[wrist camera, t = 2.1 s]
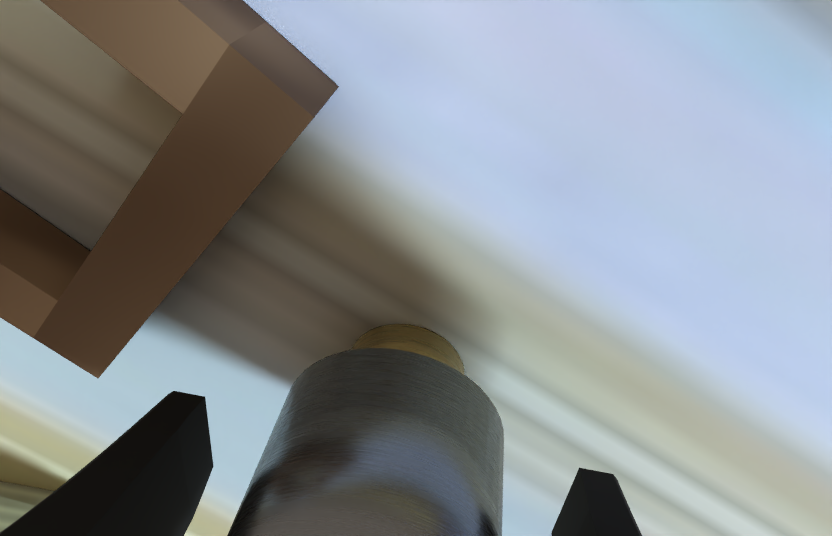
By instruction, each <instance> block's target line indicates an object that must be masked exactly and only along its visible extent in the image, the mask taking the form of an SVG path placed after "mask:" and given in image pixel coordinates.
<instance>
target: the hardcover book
mask: <svg viewBox="0 0 832 536" xmlns="http://www.w3.org/2000/svg"><path fill="white" fill-rule="evenodd" d="M53 492H54V491H51V490H46V489H40V488H35V487H29V486H24V485H18V484H13V483H7V482H2V481H0V532H1V531H3V530H4V529H6V528H7V527H8V526H10V525H11V524H12V523H14V522H15V521H16V520H18V519H19V518H20V517H22V516H23V515H24V514H26V513H27V512H28V511H29V510H31V509H32V508H33V507H35V506H36V505H37V504H39V503H40V502H41V501H43V500H44V499H45V498H46V497H48V496H49V495H50V494H52V493H53Z"/></svg>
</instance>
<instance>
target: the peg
mask: <svg viewBox="0 0 832 536" xmlns="http://www.w3.org/2000/svg"><path fill="white" fill-rule="evenodd" d="M503 460H504V433H503V426H502V422H501V419H500V416H499V414H498V412H497V410H496V408H495V406H494V405H493V403H492V402H491V400H490V399H489V397H488V396H487V395H486V394H485V393H484V392H483V390H482V389H481V388H480V387H479V386H477V385H476V384H475V383H474V382H473V381H472V380H471V379H469V378H468V377H466V376H465V375H464V367H463V363H462V360H461V358H460V356H459V354H458V353H457V351H456V350H455V349H454V347H453V346H452V345H451V344H450V343H449V342H448V341H446V340H445V339H444V338H442V337H441V336H440V335H438V334H436V333H434V332H432V331H430V330H427V329H425V328H421V327H418V326H413V325H406V324H392V325H385V326H381V327H378V328H375V329H372V330H371V331H369V332H367V333H365V334H364V335H363V336H361V337H360V338H359V339H358V340H357V342H356V343H355V344H354V346H353V348H352V350H349V351H344V352H340V353H337V354H334V355H331V356H328V357H326V358H324V359H322V360H320V361H318V362H316V363H314V364H313V365H311V366H310V367H309V368H307V369H306V370H305V371H304V372H303V373H302V374H301V375H300V376H299V377H298V378H297V379H296V381H295V382H294V384H293V385H292V387H291V389H290V392H289V394H288V396H287V399H286V401H285V403H284V405H283V408H282V410H281V412H280V415H279V417H278V419H277V422H276V424H275V426H274V429H273V431H272V433H271V436H270V438H269V440H268V443H267V445H266V447H265V450H264V452H263V454H262V457H261V459H260V461H259V464H258V466H257V468H256V470H255V473H254V475H253V477H252V480H251V482H250V484H249V487H248V489H247V491H246V494H245V496H244V498H243V501H242V503H241V505H240V508H239V510H238V512H237V515H236V517H235V519H234V522H233V524H232V526H231V528H230V531H229V533H228V535H227V536H502V507H503Z"/></svg>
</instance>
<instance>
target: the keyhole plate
mask: <svg viewBox="0 0 832 536" xmlns="http://www.w3.org/2000/svg"><path fill="white" fill-rule="evenodd" d="M41 1H42V2H43V3H44V4H46V5H47V6H48V7H49V8H51V9H52V10H53V11H54V12H56V13H57V14H58V15H59V16H61V17H62V18H63V19H64V20H66V21H67V22H68V23H69V24H71V25H72V26H73V27H74V28H76V29H77V30H78V31H79V32H81V33H82V34H83V35H84V36H86V37H87V38H88V39H89V40H91V41H92V42H93V43H94V44H96V45H97V46H98V47H99V48H101V49H102V50H103V51H104V52H106V53H107V54H108V55H109V56H111V57H112V58H113V59H114V60H116V61H117V62H118V63H119V64H121V65H122V66H123V67H124V68H126V69H127V70H128V71H129V72H131V73H132V74H133V75H134V76H136V77H137V78H138V79H139V80H141V81H142V82H143V83H144V84H146V85H147V86H148V87H149V88H151V89H152V90H153V91H154V92H156V93H157V94H158V95H159V96H161V97H162V98H163V99H164V100H166V101H167V102H168V103H169V104H171V105H172V106H173V107H174V108H176V109H177V110H178V111H179V112H180V113H182V114H183V115H182V116H181V118H180V119H179V121H178V122H177V124H176V125H175V127H174V128H173V130H172V131H171V133H170V134H169V136H168V137H167V139H166V140H165V142H164V143H163V145H162V146H161V148H160V149H159V150H158V152H157V153H156V155H155V156H154V158H153V159H152V161H151V162H150V164H149V165H148V167H147V168H146V170H145V171H144V173H143V174H142V176H141V177H140V179H139V180H138V182H137V183H136V185H135V186H134V188H133V189H132V191H131V192H130V194H129V195H128V197H127V198H126V200H125V201H124V203H123V204H122V206H121V207H120V209H119V210H118V212H117V213H116V215H115V216H114V218H113V219H112V221H111V222H110V224H109V225H108V227H107V228H106V230H105V231H104V233H103V234H102V236H101V237H100V239H99V240H98V242H97V243H96V245H95V246H94V248H93V249H92V251H89V250H88V249H86V248H85V247H83V246H82V245H80V244H79V243H78V242H76V241H75V240H73V239H72V238H70V237H69V236H67V235H66V234H64V233H63V232H62V231H60V230H59V229H57V228H56V227H54V226H53V225H51V224H50V223H49V222H47V221H46V220H44V219H43V218H41V217H40V216H38V215H37V214H35V213H34V212H33V211H31V210H30V209H28V208H27V207H25V206H24V205H22V204H21V203H20V202H18V201H17V200H15V199H14V198H12V197H11V196H9V195H8V194H6V193H5V192H4V191H2V190H1V189H0V318H2V319H4V320H5V321H7V322H8V323H10V324H12V325H13V326H15V327H16V328H18V329H20V330H21V331H23V332H24V333H26V334H28V335H29V336H31V337H32V338H34V339H36V340H37V341H39V342H40V343H42V344H44V345H45V346H47V347H48V348H50V349H52V350H53V351H55V352H56V353H58V354H60V355H61V356H63V357H64V358H66V359H68V360H69V361H71V362H72V363H74V364H76V365H77V366H79V367H80V368H82V369H84V370H85V371H87V372H89V373H90V374H92V375H93V376H95V377H97V378H99V377H100V376H101V374H102V373H103V372H104V371H105V370H106V368H107V367H108V366H109V365H110V364H111V362H112V361H113V360H114V359H115V357H116V356H117V355H118V354H119V353H120V351H121V350H122V349H123V348H124V347H125V345H126V344H127V343H128V342H129V341H130V339H131V338H132V337H133V336H134V334H135V333H136V332H137V331H138V330H139V328H140V327H141V326H142V325H143V324H144V322H145V321H146V320H147V319H148V318H149V316H150V315H151V314H152V313H153V312H154V310H155V309H156V308H157V307H158V305H159V304H160V303H161V302H162V301H163V299H164V298H165V297H166V296H167V295H168V293H169V292H170V291H171V290H172V289H173V287H174V286H175V285H176V284H177V282H178V281H179V280H180V279H181V278H182V276H183V275H184V274H185V273H186V272H187V270H188V269H189V268H190V267H191V266H192V264H193V263H194V262H195V261H196V259H197V258H198V257H199V256H200V255H201V253H202V252H203V251H204V250H205V249H206V247H207V246H208V245H209V244H210V243H211V241H212V240H213V239H214V238H215V237H216V235H217V234H218V233H219V232H220V230H221V229H222V228H223V227H224V226H225V224H226V223H227V222H228V221H229V220H230V218H231V217H232V216H233V215H234V214H235V212H236V211H237V210H238V209H239V207H240V206H241V205H242V204H243V203H244V201H245V200H246V199H247V198H248V197H249V195H250V194H251V193H252V192H253V191H254V189H255V188H256V187H257V186H258V184H259V183H260V182H261V181H262V180H263V178H264V177H265V176H266V175H267V174H268V172H269V171H270V170H271V169H272V168H273V166H274V165H275V164H276V163H277V161H278V160H279V159H280V158H281V157H282V155H283V154H284V153H285V152H286V151H287V149H288V148H289V147H290V146H291V145H292V143H293V142H294V141H295V140H296V139H297V137H298V136H299V135H300V134H301V132H302V131H303V130H304V129H305V128H306V126H307V125H308V124H309V123H310V122H311V120H312V119H313V118H314V117H315V115H316V114H317V113H318V112H319V111H320V109H321V108H322V107H323V106H324V104H325V103H326V102H327V101H328V99H329V98H330V97H331V96H332V94H333V93H334V92H335V91H336V89H337V88H338V87H339V86H337V85H336V84H335V83H334V82H333V81H332V80H331V79H330V78H328V77H327V76H326V75H325V74H324V73H323V72H322V71H321V70H320V69H318V68H317V67H316V66H315V65H314V64H313V63H312V62H311V61H309V60H308V59H307V58H306V57H305V56H304V55H303V54H302V53H300V52H299V51H298V50H297V49H296V48H295V47H294V46H293V45H292V44H290V43H289V42H288V41H287V40H286V39H285V38H284V37H283V36H281V35H280V34H279V33H278V32H277V31H276V30H275V29H274V28H273V27H271V26H270V25H269V24H268V23H267V22H266V21H265V20H264V19H262V18H261V17H260V16H259V15H258V14H257V13H256V12H255V11H254V10H252V9H251V8H250V7H249V6H248V5H247V4H246V3H245V2H243V1H242V0H41Z"/></svg>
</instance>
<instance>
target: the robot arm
mask: <svg viewBox="0 0 832 536" xmlns="http://www.w3.org/2000/svg"><path fill="white" fill-rule="evenodd" d="M212 468H213V460H212V452H211V443H210V435H209V427H208V418H207V410H206V401H205V397H203V396H198V395H192V394H187V393H182V392H177V391H173V392H171V393H170V394H168V395H167V396H166V397H165V398H164V399H162V400H161V401H160V402H159V403H158V404H157V405H156V406H155V407H153V408H152V409H151V410H150V411H149V412H148V413H147V414H146V415H144V416H143V417H142V418H141V419H140V420H139V421H138V422H137V423H135V424H134V425H133V426H132V427H131V428H130V429H129V430H127V431H126V432H125V433H124V434H123V435H122V436H121V437H119V438H118V439H117V440H116V441H115V442H114V443H112V444H111V445H110V446H109V447H108V448H107V449H106V450H104V451H103V452H102V453H101V454H100V455H98V456H97V457H96V458H95V459H93V460H92V461H91V462H90V463H89V464H87V465H86V466H85V467H84V468H83V469H81V470H80V471H79V472H78V473H77V474H75V475H74V476H73V477H72V478H71V479H69V480H68V481H67V482H66V483H64V484H63V485H62V486H61V487H59V488H58V489H57V490H56V491H54V492H53V493H52V494H50V495H49V496H48V497H46V498H45V499H44V500H43V501H41V502H40V503H39V504H37V505H36V506H35V507H33V508H32V509H31V510H29V511H28V512H27V513H26V514H24V515H23V516H22V517H20V518H19V519H18V520H16V521H15V522H14V523H12V524H11V525H10V526H8V527H7V528H6V529H4V530H3V531H1V532H0V536H184V534H185V532H186V530H187V528H188V526H189V524H190V523H191V521H192V519H193V516H194V514H195V511H196V509H197V506H198V504H199V502H200V499H201V497H202V494H203V492H204V489H205V486H206V484H207V481H208V479H209V476H210V473H211V471H212ZM552 536H642V535H641V533H640V530H639V528H638V526H637V524H636V522H635V519H634V517H633V515H632V513H631V511H630V508H629V506H628V504H627V501H626V499H625V497H624V495H623V492H622V490H621V488H620V485H619V483H618V480H617V479H616V477H615V476H614V475H613V474H609V473H604V472H599V471H593V470H588V469H583V468H579V470H578V472H577V475H576V477H575V479H574V482H573V484H572V486H571V489H570V491H569V493H568V496H567V498H566V500H565V503H564V505H563V507H562V510H561V512H560V514H559V516H558V519H557V521H556V523H555V526H554V528H553V530H552Z"/></svg>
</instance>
